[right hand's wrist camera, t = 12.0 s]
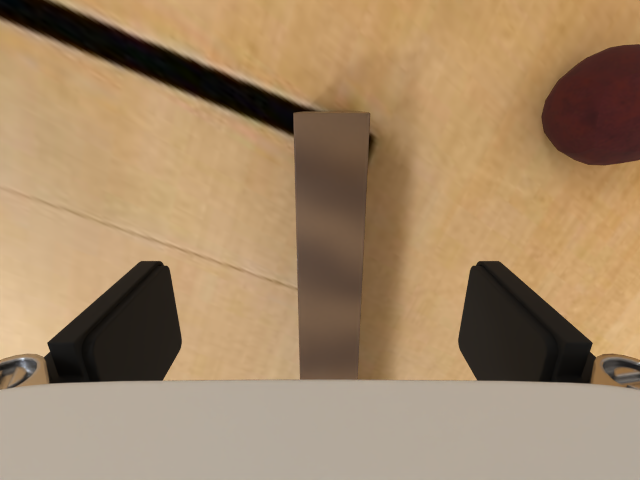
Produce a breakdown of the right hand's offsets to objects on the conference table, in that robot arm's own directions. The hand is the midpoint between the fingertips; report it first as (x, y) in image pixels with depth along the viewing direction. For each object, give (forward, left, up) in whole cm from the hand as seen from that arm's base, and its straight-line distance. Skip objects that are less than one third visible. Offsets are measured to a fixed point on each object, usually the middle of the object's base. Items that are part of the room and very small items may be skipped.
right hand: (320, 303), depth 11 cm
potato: (-6, +19, -20) cm, 28 cm away
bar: (+25, 0, -19) cm, 32 cm away
